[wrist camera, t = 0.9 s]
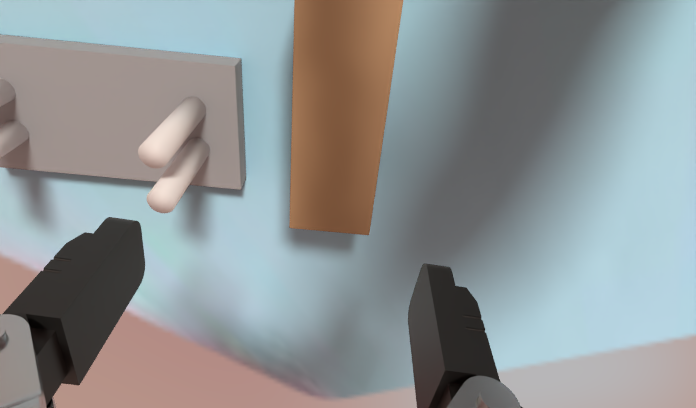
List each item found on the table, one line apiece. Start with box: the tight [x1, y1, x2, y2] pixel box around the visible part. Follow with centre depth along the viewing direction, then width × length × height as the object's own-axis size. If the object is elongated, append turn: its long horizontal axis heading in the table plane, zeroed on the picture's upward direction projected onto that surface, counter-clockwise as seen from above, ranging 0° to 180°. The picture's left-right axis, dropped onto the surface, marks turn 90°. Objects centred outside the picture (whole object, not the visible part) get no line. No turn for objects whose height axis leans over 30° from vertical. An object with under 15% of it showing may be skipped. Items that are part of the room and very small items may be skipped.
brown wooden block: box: [290, 0, 403, 235], centre depth 24 cm, size 4×13×6 cm, turn 175°
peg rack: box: [0, 35, 246, 213], centre depth 25 cm, size 16×8×8 cm, turn 85°
